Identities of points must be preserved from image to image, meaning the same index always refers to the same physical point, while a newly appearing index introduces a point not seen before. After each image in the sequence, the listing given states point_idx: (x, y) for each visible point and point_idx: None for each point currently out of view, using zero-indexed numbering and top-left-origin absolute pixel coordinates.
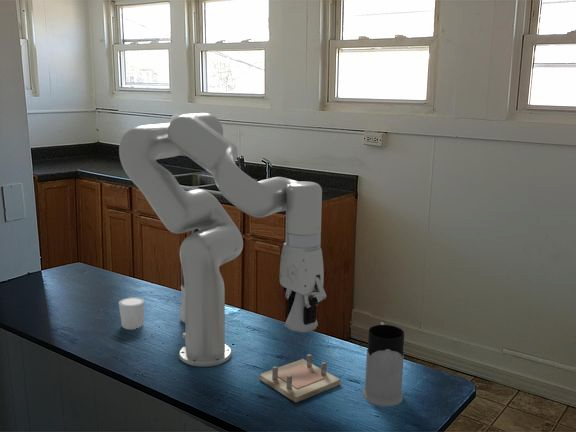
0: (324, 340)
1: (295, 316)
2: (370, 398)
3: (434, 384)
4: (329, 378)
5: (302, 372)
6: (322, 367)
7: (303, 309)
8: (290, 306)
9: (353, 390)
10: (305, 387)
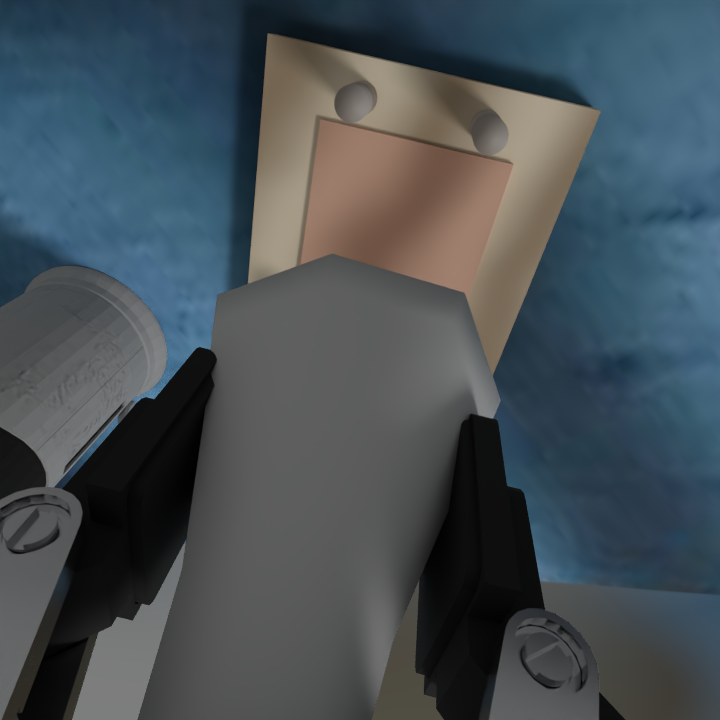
0: None
1: (296, 374)
2: (76, 278)
3: (63, 478)
4: None
5: (405, 274)
6: None
7: (157, 469)
8: (461, 513)
9: (186, 307)
10: (303, 164)
